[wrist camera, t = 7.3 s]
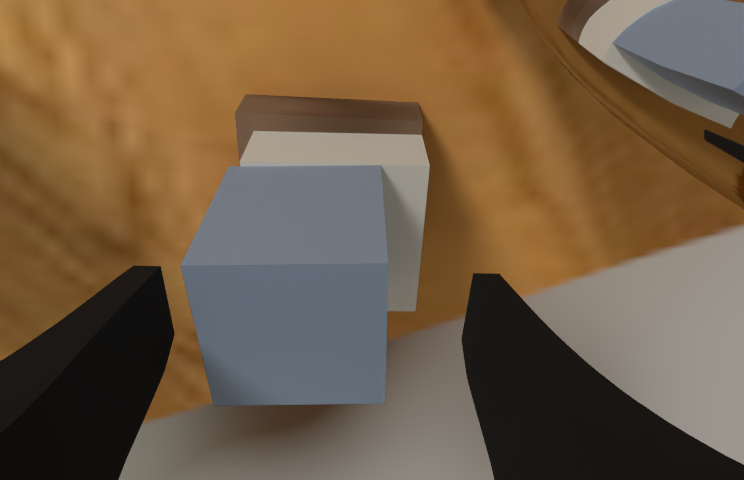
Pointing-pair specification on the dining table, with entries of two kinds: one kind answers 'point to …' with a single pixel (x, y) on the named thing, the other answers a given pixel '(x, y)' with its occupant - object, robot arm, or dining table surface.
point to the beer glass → (661, 74)
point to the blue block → (292, 286)
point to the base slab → (324, 116)
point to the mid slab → (399, 181)
